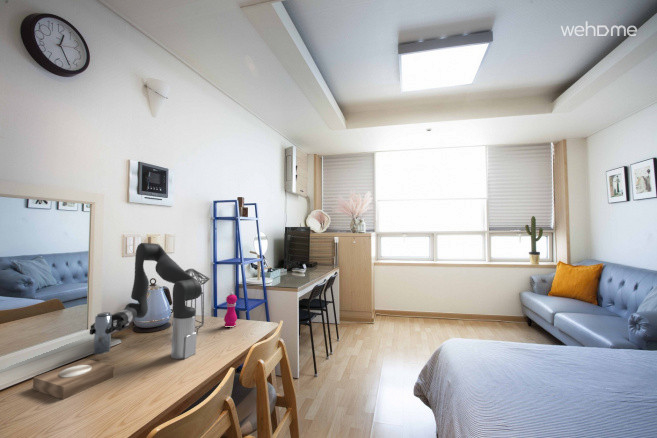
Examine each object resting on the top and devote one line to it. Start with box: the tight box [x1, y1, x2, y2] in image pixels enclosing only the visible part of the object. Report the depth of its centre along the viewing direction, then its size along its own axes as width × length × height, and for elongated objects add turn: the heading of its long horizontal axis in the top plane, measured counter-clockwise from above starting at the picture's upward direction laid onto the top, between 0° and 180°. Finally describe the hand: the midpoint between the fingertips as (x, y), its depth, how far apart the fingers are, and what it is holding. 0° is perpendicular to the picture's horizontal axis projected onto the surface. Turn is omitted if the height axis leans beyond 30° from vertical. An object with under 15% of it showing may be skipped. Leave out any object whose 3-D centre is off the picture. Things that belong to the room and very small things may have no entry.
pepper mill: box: [223, 291, 238, 327], centre depth 171 cm, size 7×7×20 cm
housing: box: [93, 311, 113, 355], centre depth 124 cm, size 6×6×16 cm
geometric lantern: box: [171, 268, 211, 334], centre depth 157 cm, size 16×16×35 cm
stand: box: [32, 358, 115, 400], centre depth 105 cm, size 16×16×4 cm
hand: (99, 331), depth 122 cm, fingers closed on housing, 5 cm apart
